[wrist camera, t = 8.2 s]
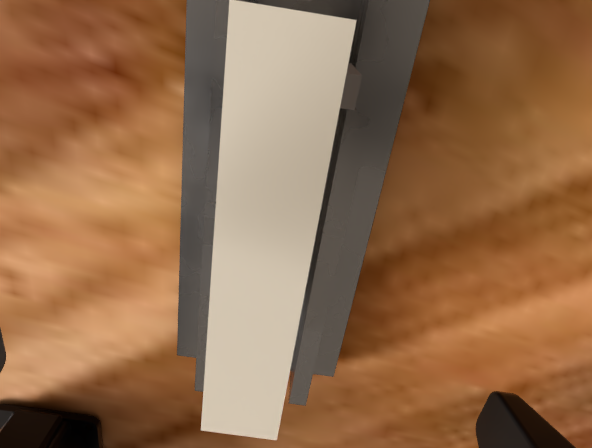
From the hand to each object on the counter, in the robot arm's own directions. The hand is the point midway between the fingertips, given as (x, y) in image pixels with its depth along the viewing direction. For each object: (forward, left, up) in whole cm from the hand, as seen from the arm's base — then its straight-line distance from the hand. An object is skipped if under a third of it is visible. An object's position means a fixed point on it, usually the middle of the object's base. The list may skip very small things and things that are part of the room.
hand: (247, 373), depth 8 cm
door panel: (0, 0, -10) cm, 10 cm away
